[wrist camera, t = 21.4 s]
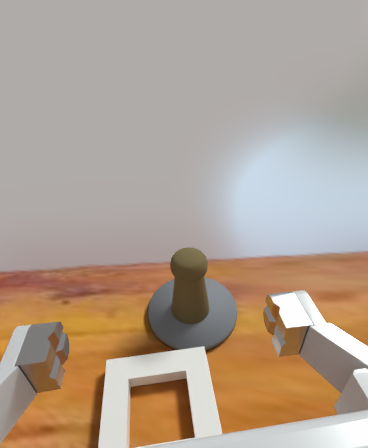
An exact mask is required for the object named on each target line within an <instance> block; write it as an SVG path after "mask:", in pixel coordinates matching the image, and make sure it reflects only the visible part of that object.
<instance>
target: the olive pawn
mask: <svg viewBox="0 0 368 448" xmlns="http://www.w3.org/2000/svg"><path fill="white" fill-rule="evenodd" d="M207 264H208V262H207V259H206V256H205V255H204V254H203V253H202V252H201V251H200V250H198V249H195V248H183V249H180V250H179V251H177V252H176V253H175V254H174V255H173V257H172V259H171V263H170V266H171V271H172V273H173V275H174V276H175V279H174V289H173V298H172V308H171V310H172V314H173V316H174V317H175V319H177V320H178V321H179V322H182V323H184V324H196V323H199V322H201V321H203V320H204V319H205V318H206V317H207V316H208V313H209V301H208V296H207V290H206V284H205V278H204V275H205V273H206V271H207Z"/></svg>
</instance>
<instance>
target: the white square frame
mask: <svg viewBox="0 0 368 448" xmlns="http://www.w3.org/2000/svg"><path fill="white" fill-rule="evenodd" d="M181 379H187V387H188V394H189V401H190V409H191V416H192V423H193V431H194V438H189V439H184V440H178V441H172V442H166V443H160V444H154V445H148V446H142V447H136V448H144V447H149V446H155V445H161V444H167V443H173V442H179V441H185V440H191V439H197V438H203V437H209V436H215V435H221V434H222V429H221V425H220V420H219V415H218V410H217V405H216V400H215V396H214V391H213V386H212V381H211V376H210V371H209V367H208V362H207V357H206V352H205V347H204V346H203V347H196V348H189V349H181V350H174V351H167V352H160V353H153V354H146V355H139V356H132V357H125V358H118V359H110V360H107V363H106V373H105V383H104V393H103V403H102V413H101V424H100V434H99V444H98V448H129V433H130V391H131V387H134V386H141V385H147V384H154V383H161V382H167V381H174V380H181Z"/></svg>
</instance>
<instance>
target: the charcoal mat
mask: <svg viewBox="0 0 368 448" xmlns="http://www.w3.org/2000/svg"><path fill="white" fill-rule="evenodd" d="M204 278H205V284H206V290H207V296H208V301H209V313H208V316H207V317H206V318H205V319H204V320H203V321H201V322H199V323H196V324H184V323H182V322H179V321H178V320H177V319H175V317H174V316H173V314H172V310H171V308H172V298H173V289H174V279H173V280H171V281H169V282H167V283H165V284H164V285H162V286H161V287H160V288H159V289H158V290H157V291H156V292H155V293H154V295H153V296H152V298H151V300H150V303H149V307H148V317H149V323H150V326H151V329H152V331H153V332H154V334H155V335H156V337H157V338H158V339H159V340H160V341H161V342H163V343H164V344H165V345H167V346H169V347H171V348H173V349H176V350H181V349H189V348H196V347H203V346H204V347H205V351H206V350H209V349H212V348H214V347H216V346H218V345H220V344H221V343H223V342H224V341H225V340H226V339H227V338H228V337H229V336H230V334H231V333H232V331H233V329H234V327H235V323H236V318H237V307H236V303H235V300H234V298H233V296H232V295H231V293H230V292H229V291H228V290H227V289H226V288H225V287H224V286H223V285H221V284H220V283H218V282H217V281H214V280H212V279H209V278H206V277H204Z"/></svg>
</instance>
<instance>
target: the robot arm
mask: <svg viewBox="0 0 368 448" xmlns="http://www.w3.org/2000/svg"><path fill="white" fill-rule="evenodd" d="M266 303H267V306H266V307H265V308H264V312H263V316H264V322H265V326H266V328H267V331H268V332H269V333H270V334H272V335H273V339H272V343H273V345H274V347H275V349H276V352H277V354H278V356H279V357H281V356H290V355H298V354H300V356H301V357H302V358H303V359H304V360H305V361H306V362H307V363H308V364H310V365H311V366H312V367H313V368H314V369H315V370H316V371H317V372H318V373H319V374H321V375H322V376H323V377H324V378H325V379H326V380H327V381H328V382H329V383H331V384H332V385H333V386H334V387H335V388H336V389H337V390H338V391H339V392H340V393H341V394H340V396H339V398H338V400H337V402H336V403H335V406H334V408H335V410H336V412H337V414H338V415H334V416H328V417H322V418H316V419H310V420H304V421H298V422H292V423H286V424H280V425H274V426H269V427H263V428H257V429H251V430H245V431H239V432H233V433H227V434H221V435H215V436H209V437H203V438H197V439H191V440H185V441H179V442H173V443H167V444H161V445H155V446H149V447H144V448H368V347H367V346H366V345H364V344H363V343H361V342H360V341H358V340H356V339H355V338H353V337H352V336H350V335H349V334H347V333H345V332H344V331H342V330H341V329H339V328H338V327H336V326H334V325H333V324H331V323H326V321H325V320H324V318H323V317H322V315H321V314H320V312H319V311H318V309H317V308H316V306H315V305H314V303H313V301H312V300H311V298H310V297H309V295H308V294H307V292H306V291H304V290H301V291H294V292H284V293H277V294H270V295H267V297H266ZM62 330H63V326H62V324H61V322H53V323H43V324H34V325H25V326H18V327H17V328H16V329H15V330H14V332H13V334H12V336H11V339H10V341H9V343H8V346H7V348H6V350H5V353H4V355H3V357H2V360H1V362H0V444H1V442H2V441H3V440H4V438H5V437H6V436H7V434H8V433H9V432H10V430H11V429H12V428H13V426H14V425H15V424H16V422H17V421H18V419H19V418H20V417H21V415H22V414H23V413H24V411H25V410H26V409H27V407H28V406H29V405H30V403H31V402H32V401H33V399H34V398H35V396H36V395H37V393H40V392H45V391H51V390H57V389H61V385H62V381H63V377H64V372H65V370H64V368H63V366H62V365H63V364H64V363H65V361H66V360H67V359H68V354H69V341H68V337H67V335H66V334H65V333H63V332H62Z"/></svg>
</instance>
